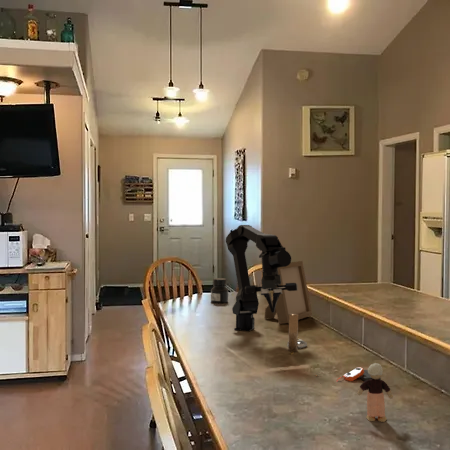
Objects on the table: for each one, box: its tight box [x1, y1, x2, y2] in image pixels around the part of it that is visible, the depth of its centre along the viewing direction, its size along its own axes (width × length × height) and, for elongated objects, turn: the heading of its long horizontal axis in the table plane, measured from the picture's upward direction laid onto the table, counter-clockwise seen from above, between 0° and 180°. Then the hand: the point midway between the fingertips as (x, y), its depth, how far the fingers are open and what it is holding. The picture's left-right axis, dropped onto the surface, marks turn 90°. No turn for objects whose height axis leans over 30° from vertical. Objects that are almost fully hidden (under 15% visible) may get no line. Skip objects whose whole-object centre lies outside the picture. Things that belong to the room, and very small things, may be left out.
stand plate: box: [290, 336, 304, 355], centre depth 181 cm, size 20×15×2 cm
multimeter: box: [313, 367, 382, 383], centre depth 147 cm, size 18×12×3 cm, turn 92°
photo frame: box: [264, 260, 313, 325], centre depth 230 cm, size 15×22×25 cm
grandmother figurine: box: [356, 362, 394, 423], centre depth 119 cm, size 8×4×13 cm, turn 92°
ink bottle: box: [210, 277, 229, 304], centre depth 272 cm, size 10×9×12 cm
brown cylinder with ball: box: [286, 314, 308, 353], centre depth 178 cm, size 6×11×12 cm, turn 162°
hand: (273, 312), depth 189 cm, fingers closed
